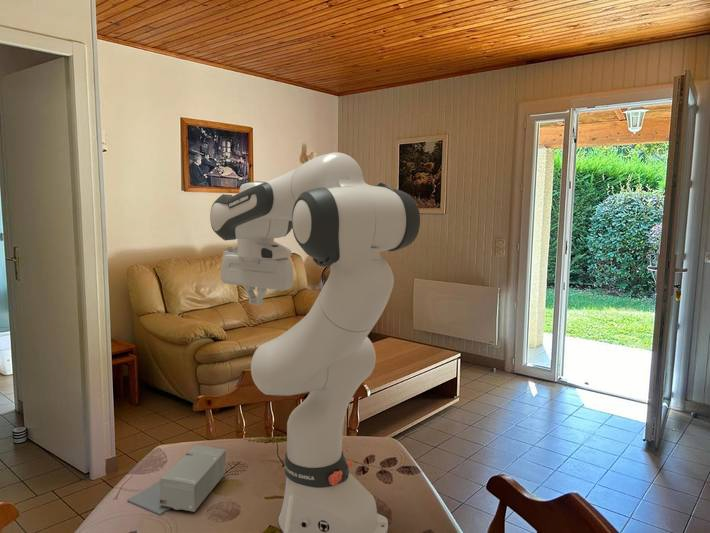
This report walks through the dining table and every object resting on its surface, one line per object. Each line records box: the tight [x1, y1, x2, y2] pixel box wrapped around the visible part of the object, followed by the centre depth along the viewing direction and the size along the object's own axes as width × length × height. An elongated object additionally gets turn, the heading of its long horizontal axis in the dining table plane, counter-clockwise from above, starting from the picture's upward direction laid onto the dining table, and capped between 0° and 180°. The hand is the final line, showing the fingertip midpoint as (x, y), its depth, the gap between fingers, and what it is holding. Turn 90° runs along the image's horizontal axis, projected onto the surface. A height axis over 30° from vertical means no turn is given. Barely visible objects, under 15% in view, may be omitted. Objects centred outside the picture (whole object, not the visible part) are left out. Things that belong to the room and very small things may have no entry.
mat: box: [126, 480, 173, 516], centre depth 117 cm, size 10×15×1 cm, turn 151°
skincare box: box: [159, 445, 227, 513], centre depth 117 cm, size 8×7×16 cm
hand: (256, 304), depth 130 cm, fingers closed
